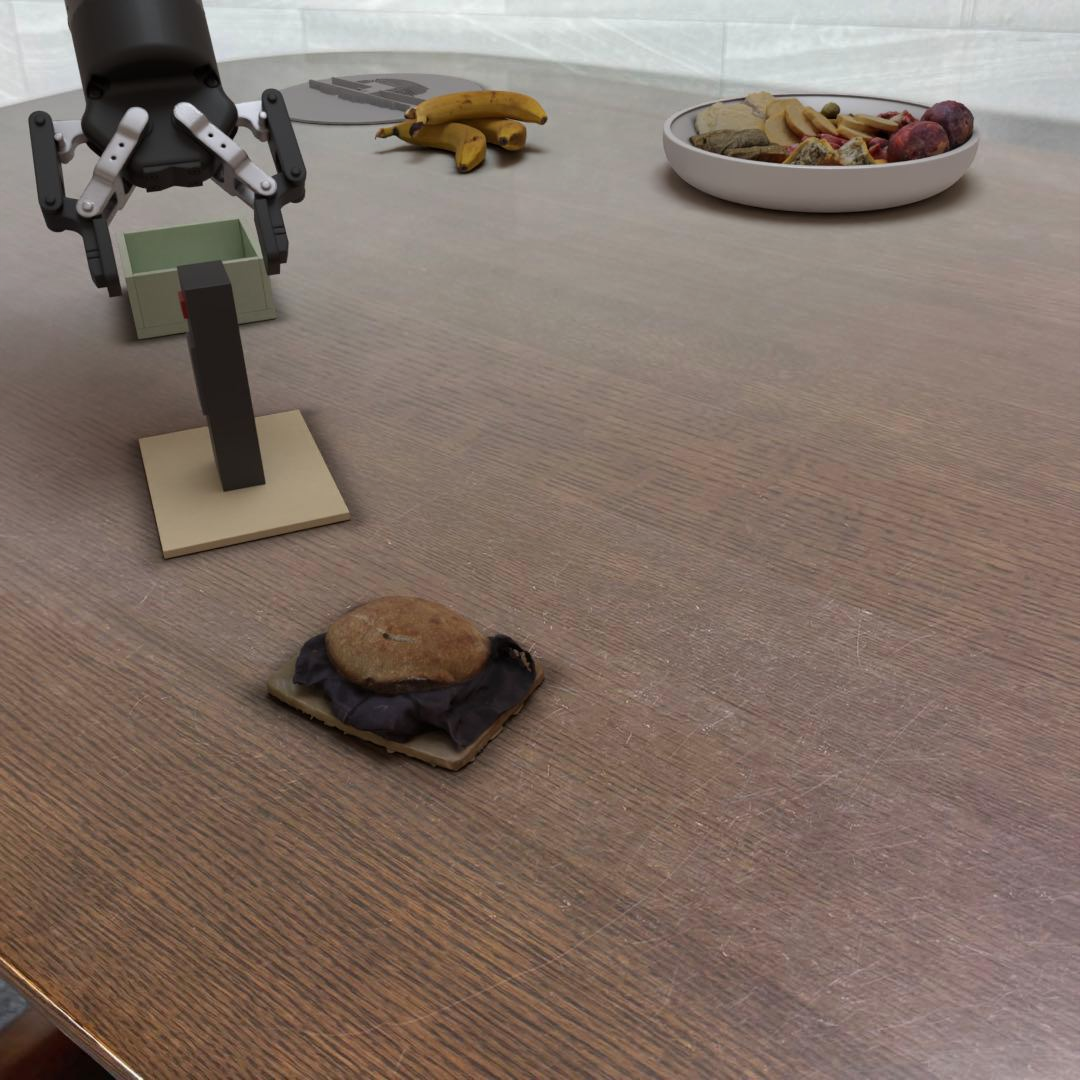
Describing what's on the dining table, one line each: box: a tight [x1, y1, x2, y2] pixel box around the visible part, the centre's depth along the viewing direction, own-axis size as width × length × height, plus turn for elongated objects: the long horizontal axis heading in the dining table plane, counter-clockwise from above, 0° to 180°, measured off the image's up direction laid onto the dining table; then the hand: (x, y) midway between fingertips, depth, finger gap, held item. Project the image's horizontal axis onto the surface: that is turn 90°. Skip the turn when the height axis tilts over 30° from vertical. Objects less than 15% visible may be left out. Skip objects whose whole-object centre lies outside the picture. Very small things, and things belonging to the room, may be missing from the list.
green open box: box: [115, 215, 277, 340], centre depth 93 cm, size 10×11×5 cm
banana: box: [374, 89, 548, 173], centre depth 129 cm, size 15×19×6 cm
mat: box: [138, 409, 351, 560], centre depth 70 cm, size 14×10×1 cm
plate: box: [279, 72, 484, 125], centre depth 155 cm, size 28×28×1 cm
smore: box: [265, 595, 546, 772], centre depth 53 cm, size 11×8×4 cm
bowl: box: [662, 90, 981, 214], centre depth 117 cm, size 30×30×8 cm
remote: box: [177, 260, 266, 492], centre depth 67 cm, size 3×4×12 cm
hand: (196, 279), depth 66 cm, fingers open, 8 cm apart
